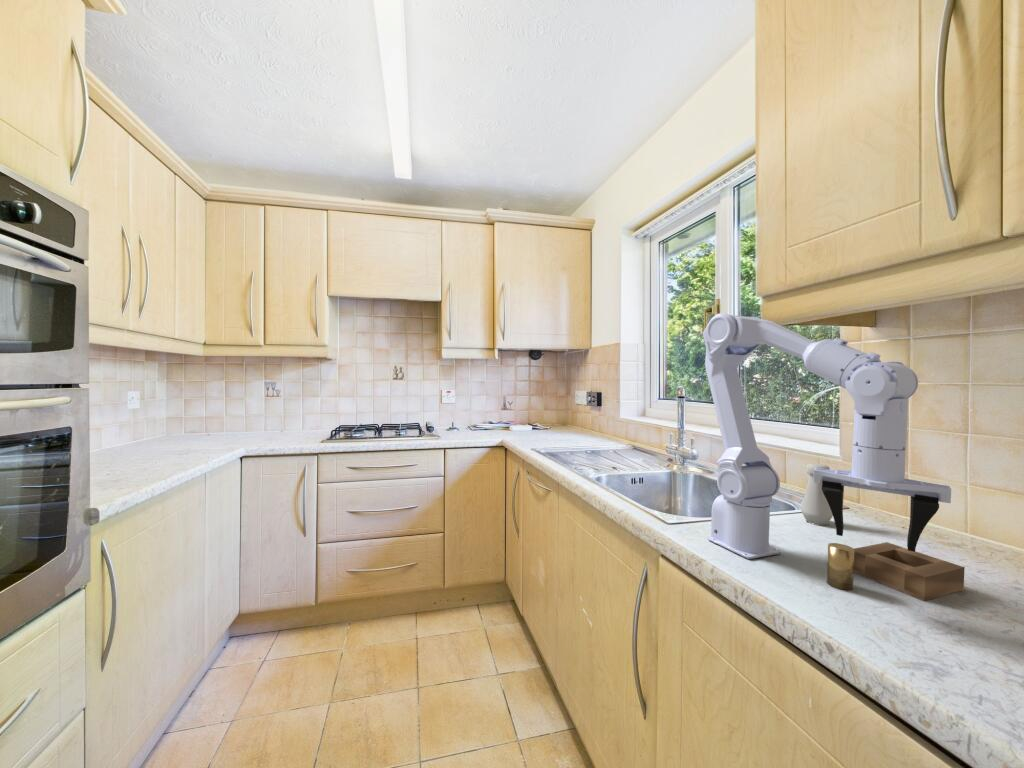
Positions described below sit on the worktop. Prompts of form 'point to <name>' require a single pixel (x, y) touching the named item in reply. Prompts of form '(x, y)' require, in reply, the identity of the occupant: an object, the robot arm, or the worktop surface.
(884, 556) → the hole block
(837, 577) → the bronze pin
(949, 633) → the worktop surface
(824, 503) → the salt shaker
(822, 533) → the worktop surface
